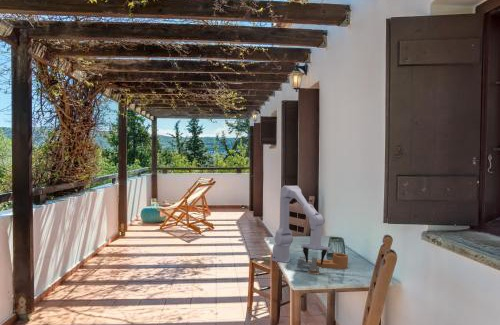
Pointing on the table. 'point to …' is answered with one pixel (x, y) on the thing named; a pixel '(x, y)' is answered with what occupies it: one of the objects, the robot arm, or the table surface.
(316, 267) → the slotted grey block
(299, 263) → the vise
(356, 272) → the table surface
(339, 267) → the bracket
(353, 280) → the table surface
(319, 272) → the pad
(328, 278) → the table surface
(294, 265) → the table surface
